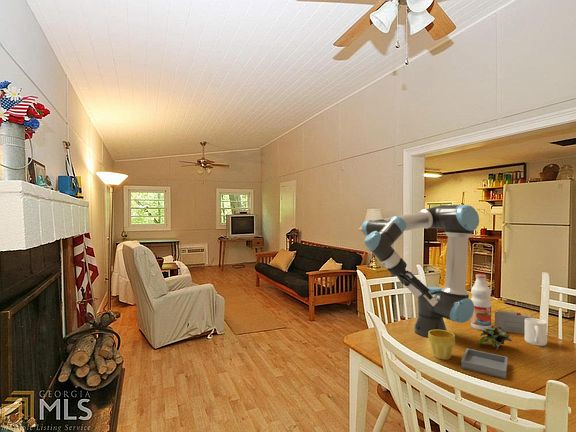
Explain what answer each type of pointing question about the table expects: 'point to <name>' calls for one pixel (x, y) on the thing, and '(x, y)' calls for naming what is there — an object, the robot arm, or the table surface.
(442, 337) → the plant pot
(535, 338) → the mug
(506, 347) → the table surface
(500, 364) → the tray
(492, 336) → the green leafy plant
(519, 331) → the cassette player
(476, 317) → the fruit juice
